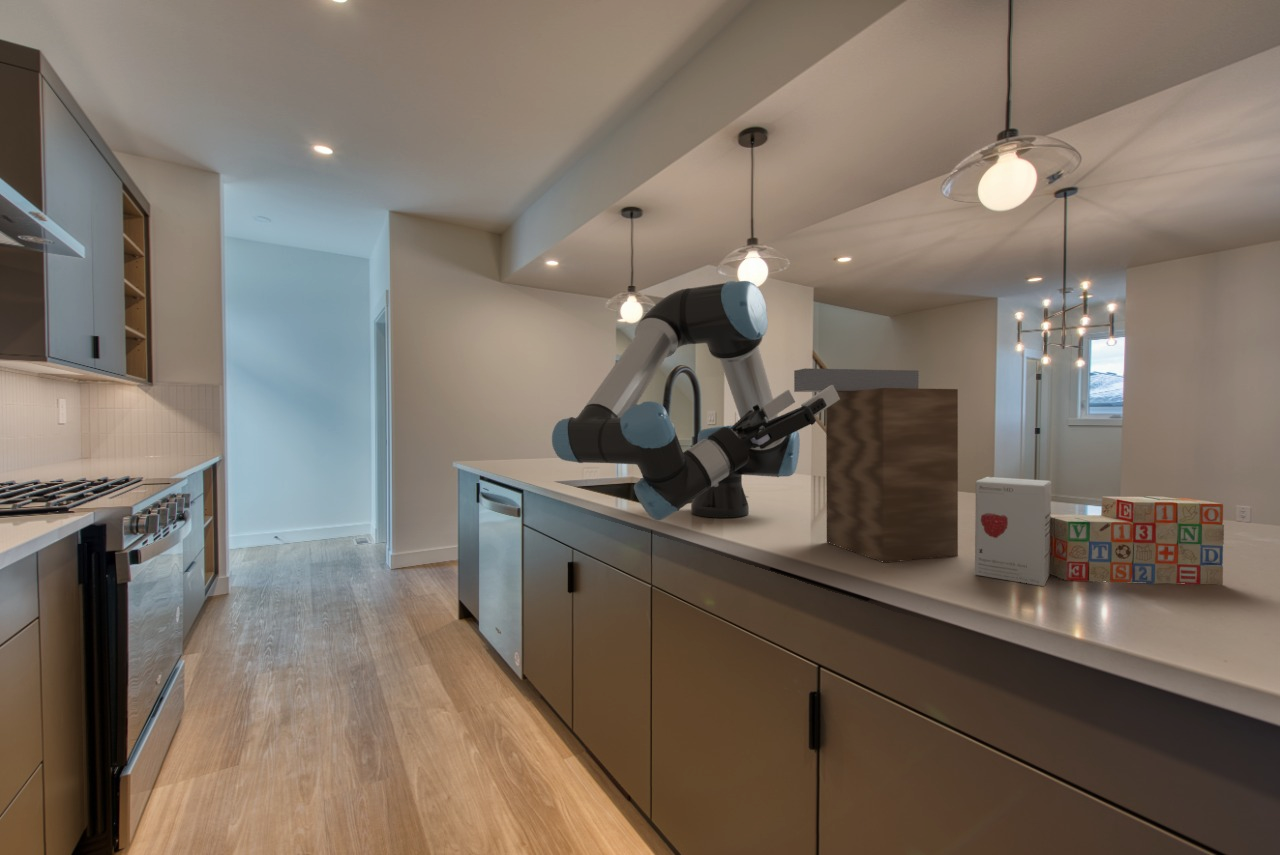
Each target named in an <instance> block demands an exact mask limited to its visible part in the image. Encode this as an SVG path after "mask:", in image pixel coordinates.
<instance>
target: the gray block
mask: <svg viewBox="0 0 1280 855" xmlns="http://www.w3.org/2000/svg"><path fill="white" fill-rule="evenodd" d="M793 372H794V374H793V375H794V376H793V377H794V378H793V383H794V384H793V385H794V386H793V388H794V389H793V390H794V393H796V392H797V393H802V392H803V393H820V392H821V391H823V390H824V389H826V388H827V387H829V386H830V385H833V386H834V388H835V390H836V392H845V391H856V390H867V389H879V388H915V389H919V370H916V369H915V370H913V369H912V370H906V369H905V370H904V369H903V370H902V369H901V370H900V369H856V368H854V369H853V368H851V369H848V368H800V369H796V370H793Z"/></svg>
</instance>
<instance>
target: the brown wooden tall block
mask: <svg viewBox="0 0 1280 855" xmlns="http://www.w3.org/2000/svg"><path fill="white" fill-rule="evenodd" d="M958 392H959V389H958V388H918V389H915V388H879V389H867V390H856V391H845V392H837V394H838V396H839V398H840V399H839V400H838V401H837V402H835V403H834V404H832V405H831V406H829V407H828V408H826V409H825V415H826V416H825V419H826V421H825V424H826V426H825V429H826V430H825V431H826V432H825V433H826V434H825V438H826V439H825V440H826V441H825V442H826V444H825V445H826V446H825V447H826V451H825V452H826V453H825V454H826V457H825V458H826V463H825V464H826V465H825V466H826V467H825V468H826V482H825V483H826V543H827V542H830V543H832V544H835V545H838V546H841V547H843V548H842V549H844V548H846V549H845V550H847V549H849V550H852V551H854V552H853V553H855V552H857V553H856V554H858V553H860V554H859V555H861V554H863V555H862V556H864V555H866V556H865V557H867V556H869V557H871V559H872V558H874V559H873V560H875V559H877V560H876V561H878V560H880V561H879V562H881V561H883V562H882V563H884V562H885V563H890V562H889V561H895V562H901V561H900V560H906V561H913V560H912V559H916V560H925V559H926V558H927V559H935V558H946V557H955V556H956V557H957V556H959V530H958V529H959V515H958V514H959V507H958V506H959V497H958V496H959V492H958V490H959V487H958V486H959V485H958V484H959V483H958V482H959V481H958V480H959V472H958V469H959V468H958V466H959V461H958V460H959V459H958V458H959V457H958V456H959V455H958V454H959V453H958V452H959V451H958V448H959V436H958V434H959V433H958V432H959V431H958V430H959V429H958V428H959V426H958V425H959V421H958V420H959V419H958V418H959V414H958V413H959V412H958V411H959V410H958V408H959V406H958V405H959V404H958V403H959V400H958V395H959V393H958ZM830 543H829V544H830ZM832 544H831V545H832ZM835 545H834V546H835ZM838 546H837V547H838ZM841 547H840V548H841ZM849 550H848V551H849ZM852 551H851V552H852ZM869 557H868V558H869Z"/></svg>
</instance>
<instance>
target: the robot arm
mask: <svg viewBox="0 0 1280 855" xmlns="http://www.w3.org/2000/svg"><path fill="white" fill-rule="evenodd" d="M767 311H768V309H767V304H766V302H765V299H764V295H763V294H762V292H761V290H760V289H759V287H758V286H757V285H756V284H755V283H753V282H751V281H749V280H741V281H740V280H739V281H736V280H735V281H734V280H729V281H727V282H724V283H718V284H711V285H703V286H695V287H692V288H691V287H690V288H688V287H687V288H682V289H680V290H677V291H674V292H672V293H670V294H669V295H667V296H665V297H664V298H662V299H661V300H660V301H659V302H657V303H656V304H655V305H654V306H652V307H651V308H650V310H648V311H647V312H646V313H645V315H643V317H642V319H640V320H639V322H638V323H637V325H636V326H635V329H634V336H633V339H632V340H631V342H630V343H629V344H628V346H627V348H625V350H624V351H623V352H622V354H621V356H620V357H619V359H618V360H617V361H616V363H615V364H614V365H613V367H612V368H611V370H610V371H609V372H608V374H607V375H606V376H605V378H604V379H603V381H602V382H601V383H600V385H599V386H598V388H597V389H596V390H595V392H594V393H593V394H592V396H591V398H590V399H589V400H588V402H587V403H586V404H585V406H584V407H583V409H581V412H580V413H579V414H578V416H576V417H573V416H570V417H568V418H563V419H561V420H558V422H557V423H556V424H555V425H554V428H553V430H552V435H551V444H552V449H553V451H554V452H555V454H556V456H557V457H558V458H559V459H560V460H562V461H565V462H566V461H567V462H573V463H579V464H584V463H586V464H587V463H588V464H589V463H591V464H594V463H595V464H618V465H620V464H621V465H622V464H623V465H624V464H625V465H636V466H637V467H638V468H639V472H640V474H641V476H642V478H640V479H639V481H636V483H634V485H633V490H634V494H635V496H636V497H637V500H638V502H639V503H640V505H641V506H642V508H643V510H644V511H645V512H646V513H647V514H648V515H649V517H650V518H652V519H653V520H655V521H661V520H664V519H666V518H667V517H669V516H671V515H672V514H674V513H676V512H678V511H680V509H682V508H684V506H686V505H687V504H689V503H690V502H691V508H690V510H691V511H690V513H691V514H692V515H695V516H700V517H705V518H720V519H723V518H725V519H726V518H729V519H730V518H740V517H745V516H748V515H749V512H750V511H749V503H748V500H747V497H746V494H745V490H744V488H743V484H742V480H743V478H742V476H743V475H744V476H758V477H759V476H760V477H770V478H771V477H772V478H780V477H783V478H784V477H791V476H792V475H793V474H794V473H796V470H797V466H798V462H799V456H800V447H801V446H800V441H801V439H800V433H799V432H798V431H800V430H802V429H804V428H806V427H808V426H809V425H811V426H813V425H815V423H816V421H817V419H816V417H815V416H817V415H819V414H820V413H822V412H823V411H826V408H828V407H829V406H831V405H832V404H834V403H835V402H837V401H838V400H839V399H840V398H839V396H838V394H837V392H836V390H835V388H834V386H833V385H830V386H829V387H827V388H826V389H824V390H823V391H821V392H817V393H816V394H815V395H814V396H812V397H811V398H809V399H808V400H806V401H805V402H803V403H801V404H800V405H801V407H798V408H796V409H793V410H791V411H788V412H786V413H784V414H781V415H778V414H780V413H781V412H782V411H784V410H785V409H787V408H789V407H790V406H792V405H793V404H795V403H796V401H795V398H794V397H793V395H792V393H791V391H790V389H787V390H785V391H783V392H782V393H780V394H779V395H777V396H776V397H773V394H772V389H771V387H770V382H769V379H768V376H767V372H766V369H765V365H764V362H763V359H762V354H761V351H760V347H759V346H760V345H761V343H762V341H763V338H764V336H765V335H766V333H767V330H768V327H769V326H768V325H769V324H768V323H769V318H768V314H767ZM697 344H698V345H699V344H706V346H707V347H708V348H707V349H708V350H709V354H710V355H711V356H712V357H713V358H715V359H719V361H720V363H721V366H722V369H723V372H724V375H725V378H726V381H727V383H728V387H729V389H730V393H731V395H732V399H733V401H734V404H735V407H736V410H737V413H738V415H739V420H737V421H736V422H735V423H734V424H732V425H731V424H730V425H723V426H715V427H707V428H704V429H701V430H700V431H699V432H698V434H697V443H695V444H694V445H692V446H691V447H689V448H688V449H686V450H685V451H683V449H682V446H681V444H680V441H679V438H678V435H677V432H676V428H675V425H674V423H673V421H672V420H671V418H670V415H669V414H668V411H667V409H666V408H665V407H664V406H663V405H662V404H661V403H659V402H656V401H653V400H651V401H650V400H649V401H643V402H642V403H640V404H638V402H639V401H640V400H641V397H642V396H643V395H644V393H645V391H646V390H647V388H648V386H649V385H650V383H651V382H652V380H653V379H654V377H655V375H656V373H657V372H658V370H659V369H660V368H661V366H662V364H663V362H664V361H665V359H666V358H669V357H671V356H672V355H674V354H675V353H676V351H677V349H678V348H680V347H683V346H687V345H697Z"/></svg>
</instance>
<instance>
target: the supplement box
mask: <svg viewBox="0 0 1280 855" xmlns="http://www.w3.org/2000/svg"><path fill="white" fill-rule="evenodd" d="M1051 501H1052V481H1051V480H1044V479H1031V478H1030V479H1029V478H1010V477H993V476H986V477H983V478H982V479H981V478H980V479H978V480H976V481H975V521H974V522H975V524H974V525H975V528H974V529H975V530H974V533H975V534H974V535H975V536H974V537H975V538H974V539H975V540H974V575H975V576H979V577H980V576H981V577H986V578H992V579H997V580H1004V581H1009V582H1015V583H1016V582H1017V583H1020V582H1021V584H1026V583H1027V585H1031V586H1040V587H1045V585H1046V583H1047V581H1048V578H1049V577H1050V575H1051V574H1050V522H1051V514H1052V513H1051V512H1052V510H1051V508H1052V506H1051V503H1052V502H1051Z"/></svg>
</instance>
